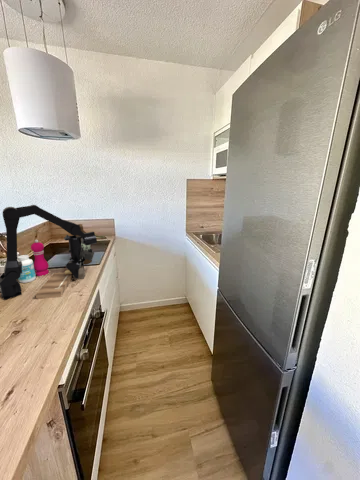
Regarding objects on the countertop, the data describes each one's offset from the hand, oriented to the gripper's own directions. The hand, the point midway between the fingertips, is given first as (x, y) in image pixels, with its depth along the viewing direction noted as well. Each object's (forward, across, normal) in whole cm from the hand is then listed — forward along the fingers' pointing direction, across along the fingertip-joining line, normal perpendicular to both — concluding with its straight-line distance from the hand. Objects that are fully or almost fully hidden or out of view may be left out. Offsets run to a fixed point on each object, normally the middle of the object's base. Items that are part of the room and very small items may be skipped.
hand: (79, 274), depth 113 cm
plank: (+2, -8, +8) cm, 12 cm away
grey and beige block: (+2, 0, +2) cm, 3 cm away
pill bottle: (+2, +2, +26) cm, 26 cm away
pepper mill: (+2, +10, +22) cm, 24 cm away
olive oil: (+2, +24, +3) cm, 25 cm away
